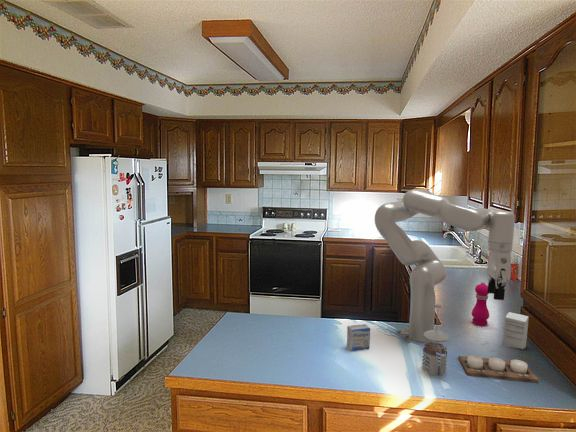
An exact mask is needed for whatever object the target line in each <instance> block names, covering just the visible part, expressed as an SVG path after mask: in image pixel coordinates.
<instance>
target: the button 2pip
mask: <svg viewBox="0 0 576 432" xmlns="http://www.w3.org/2000/svg"><path fill="white" fill-rule="evenodd" d="M510 361H511V363H510V367H509V368H510V370H511V371H512V372H513V373H522V374H527V366H528V363H527V362H525V361H523V360H521V359H520V360H519V359H511V360H510ZM528 367H529V366H528Z"/></svg>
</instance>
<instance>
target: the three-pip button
mask: <svg viewBox="0 0 576 432" xmlns="http://www.w3.org/2000/svg"><path fill="white" fill-rule="evenodd" d="M482 358H483V357H480V356H477V355H468V356H467V363H466V365H467V367H468V368H472V369H482V370H484V369H483V359H482Z"/></svg>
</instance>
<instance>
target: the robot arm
mask: <svg viewBox="0 0 576 432" xmlns="http://www.w3.org/2000/svg"><path fill="white" fill-rule="evenodd" d="M418 214H422V215H424V216H429V217H432V218H435V219H436V220H437V219H438V220H439V221H441V222H443V223H445V224H447V225H449V226H452V227H455V228H458V229H460V230H463V231H468V232H477V231H480V230H485V229H489V230H488V237H487V238H488V239H487V240H488V241H487V250H488V251H489V253H488V260H487V274H488V279H487V281H488V283H487V286H488V293H489V294H493V299H494V300H496V301H504V300H505V294H506V293H505V292H506V285H507V283H508V282H509V281H511V275H512V274H511V273H512V272H511V271H512V270H511V269H512V268H511V267H512V257H511V253H512V252H513V241H514V233H515V232H514V231H515V221H516V216H515V213H513V212H512V211H510V210H509V211H507V210H494V209H489V208H485V207H484V208H483V207H478V208H473V209H470V208H466V207H463V206H460V205H456V204H453V203H451V202H450V201H449V199H448V198H447V197H446V196H443V195H442V196H441V195H438V194H433V193H432V192H431V191H430V190H428V189H425V188H414V189H410V190H408V191H406V192H405V193H404V194H403V197H402V200H399V201H394V202H391V201H390V202H386V203H384V204H381V205H380V206H378V208H377V209H376V211H375V213H374V225H375V227H376V229H377V232H378V233H379V234H380V235H381V237H382V238H383V239H384V241H385V242H386V243H387V245H388V246H389V248H390V249H391V251H392V252H393V253H394V254H395V256H396V258H397V259H398V261H399V262H400V263H401V264H402V265H404V266H414V265H416V266H415V267H414V268H413V269H412V270H411V272H410V274H409V285H410V304H409V305H410V306H409V307H410V308H409V321H408V322H409V325H407V327H405V328H401V327H397V328H396V333H398V334H400V336H404V340H405V341H406V342H407V343H409V344H410V343H411V342H410V340H412V341H415V342H420V343H429V342H432V341H431V340H429V339H427V338H426V337H425V336H424V332H426V331H429V330H435V314H436V307H435V305H436V302H437V301H436V291H435V286H436V285H439V284H440V283H442V282H443V281H445V279H446V277H447V270H446V268H445V265H444V264H443V263H442V261H441V260H440V259H439V257H438V256H437V255H436V253H435V252H434V251H433V249H432V248H431V247H430V246H429V245H428V244H427V243H426V242H424V241H422V240H420V239H415V240H412V239H411V238H410V237H409V236H408V235H407V233H406V231H405V230H404V229H403V228H401V227H400V226H399V225H398V224H397V223H399V222H404V221H406V220H409V219H411V218H413V217H414V216H416V215H418Z"/></svg>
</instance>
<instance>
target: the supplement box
mask: <svg viewBox="0 0 576 432" xmlns="http://www.w3.org/2000/svg"><path fill="white" fill-rule="evenodd" d="M528 327H529V316H528V315H524V314H519V313H515V312H510V311H508V312H507V314H506V316H505V317H504V326H503V335H502V337H503V338H502V347H504V348H505V347H506V348H517V349H520V350H521V349H522V350H524V349H526V346H527V339H528V338H527V337H528Z"/></svg>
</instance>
